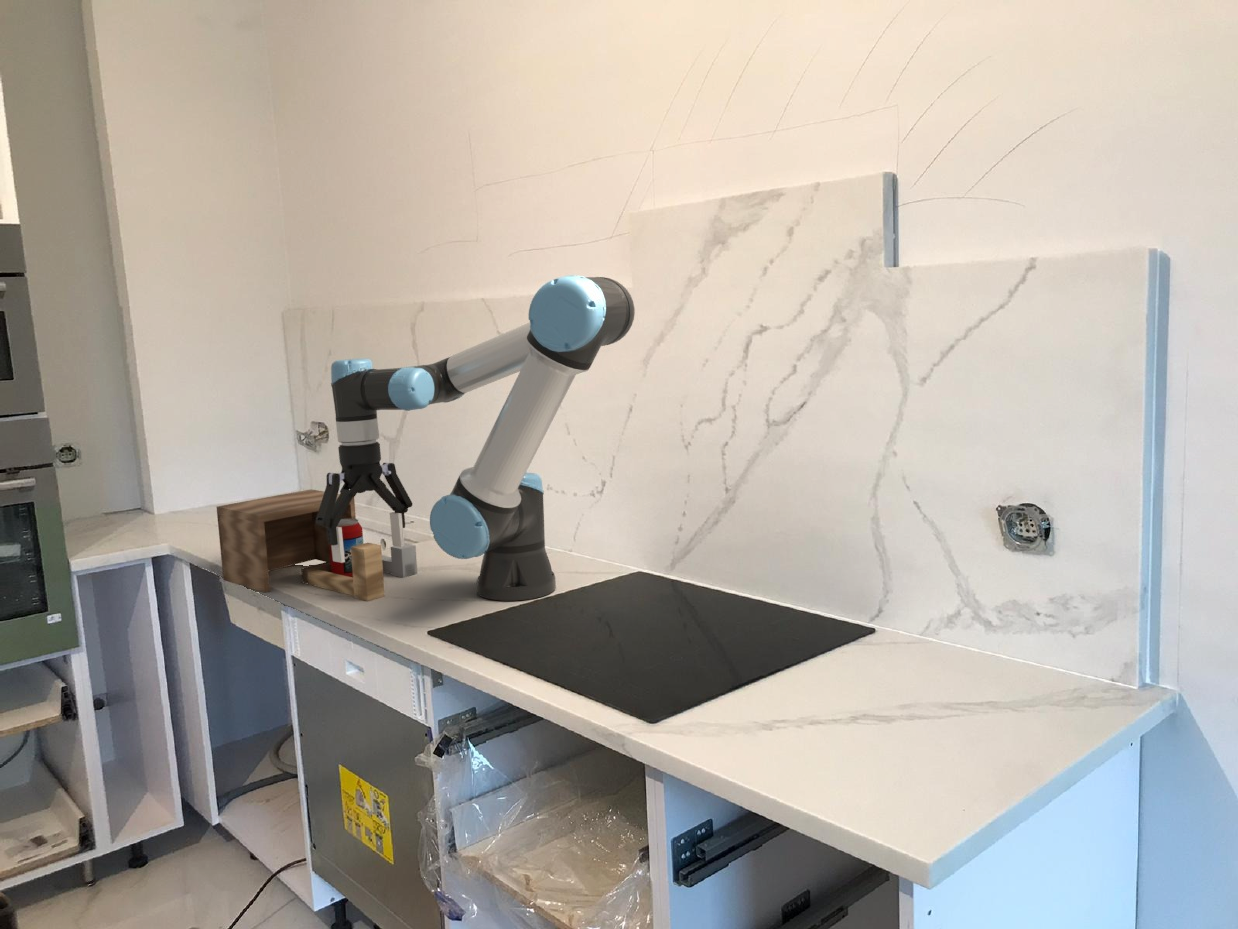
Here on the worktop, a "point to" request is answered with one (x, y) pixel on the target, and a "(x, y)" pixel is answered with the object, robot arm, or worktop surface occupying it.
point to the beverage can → (347, 546)
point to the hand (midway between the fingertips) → (369, 553)
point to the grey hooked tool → (401, 561)
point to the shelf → (272, 536)
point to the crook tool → (365, 574)
